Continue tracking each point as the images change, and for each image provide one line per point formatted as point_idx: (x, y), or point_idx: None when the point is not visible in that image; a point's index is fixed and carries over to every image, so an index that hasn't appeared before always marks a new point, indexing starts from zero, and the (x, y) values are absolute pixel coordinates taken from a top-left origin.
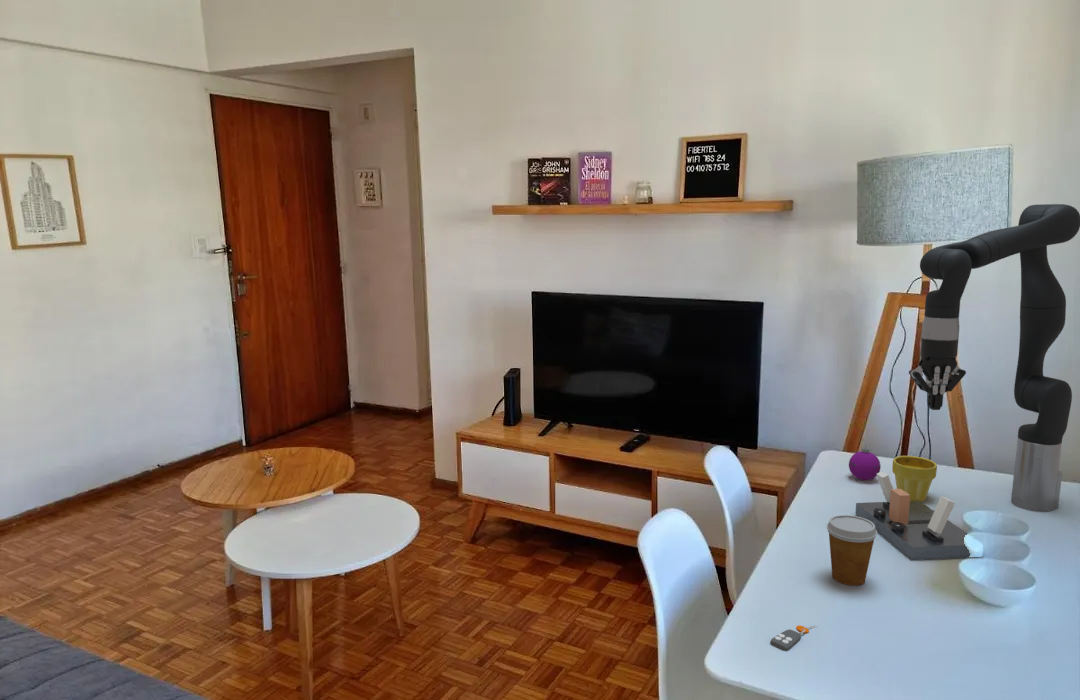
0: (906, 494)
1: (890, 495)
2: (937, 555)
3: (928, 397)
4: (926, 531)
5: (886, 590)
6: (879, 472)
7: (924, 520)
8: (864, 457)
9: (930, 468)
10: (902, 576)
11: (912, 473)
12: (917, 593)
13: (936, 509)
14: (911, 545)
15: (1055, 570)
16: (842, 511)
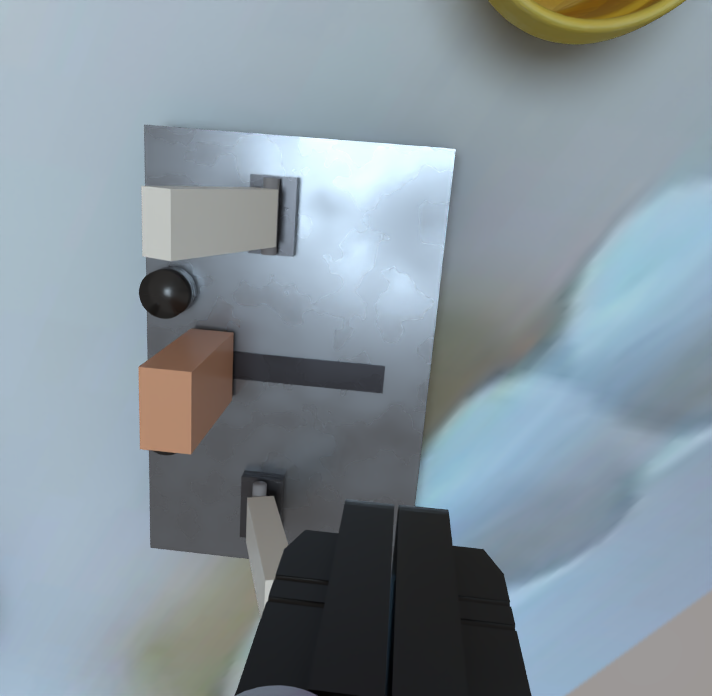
0: (177, 443)
1: (152, 357)
2: None
3: (254, 659)
4: (253, 482)
5: (10, 647)
6: (155, 189)
7: (329, 366)
8: None
9: (625, 24)
10: (90, 596)
11: (506, 10)
12: (82, 675)
13: (256, 548)
14: (155, 536)
15: (558, 656)
16: (126, 83)
